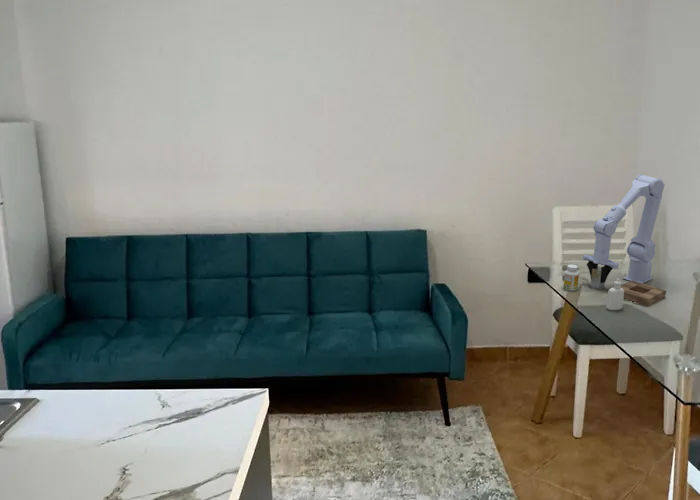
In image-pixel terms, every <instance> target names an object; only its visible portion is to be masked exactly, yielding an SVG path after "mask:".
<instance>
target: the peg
mask: <svg viewBox="0 0 700 500" xmlns="http://www.w3.org/2000/svg"><path fill="white" fill-rule="evenodd" d="M601 267H602V266H599V265H598V266H597V267H594V268H592V275H591V276H590V286H589V287H590V288H593V289H597V290H601V289H604V288H605V285H606V282H605V283H601V277H602V271H601ZM603 287H604V288H603Z"/></svg>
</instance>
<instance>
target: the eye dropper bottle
mask: <svg viewBox="0 0 700 500" xmlns="http://www.w3.org/2000/svg"><path fill="white" fill-rule="evenodd" d="M621 285H622V282H621V281H620V278H616V280H614V281H613V287H611V288H609V289H608V291H607V297H606V298H607V299H606V306H605V307H606V309H607V310H608V311H620V310H621V309H623V303H624V299H623V297H624V290H623V289H622V288H620V287H621Z"/></svg>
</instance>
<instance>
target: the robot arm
mask: <svg viewBox="0 0 700 500" xmlns="http://www.w3.org/2000/svg"><path fill="white" fill-rule="evenodd" d="M664 188H665V182H663V180H662V179H661V178H658V177H652V176H648V175H644V174H643V173H642V174H638V175H637V176H636V177H635V178H634V180H632V183H631V187H630V189H629V191H628V192H627V193H626V194H625V196H624V197H623V198H622V199H621V201H620V202H619V203H618V204H614V205H613V206H612V207H611V208H610V209H609V211H607V213H605V215H604V216H603V218H601V219H598V220H596V222H595V223H594V225H593V231H594V236H595V241H594V249H593V255H590V254H585V255H583V257H582V261H586V262H587V261H588V262H587V263H586V266H587V268H588V272H589V276H590V277H591V275H592V268H594V267H597V266H599V265H601V266H600V267H601V271H602V277H601V283H605V284H606V281H607V279H608V277H609V275H610V274H611V273H610V272H611V271H612V270H617V269H619V265H620V264H619V263H618V262H616V261H612V260H610V259H609V258H610V252H611V251H610V250H611V243H612V236H613V234H615V233H616V231H617V227H618V225H619V223H620V222H621V221H622V220H623V218H624V217H625V216H626V215H627V209H628V208H630V207H631V206H632V205H633V204H634V203H635V202H636V201H637V200H638V199H639V198H640V197H644V198H645V202H644V207H643V210H642V214H641V218H640V222H639V225H638V229H637V232H636V233H637V234H636V236H634V237H632V238H631V239H630V241H629V243H628V245H627V249H626V253H627V255H628V258H629V264H628V272H627V276H625V277H623V280H626V281H628V282H630V281H635V282H639V283H642V284H645V283H646V282H649V281H651V280H653V277H651V274H652V268H653V267H652V266H653V263H652V260H653V259H654V257H655V254H656V252H655V251H656V250H655V248H656V244H655V242H654V241H653V239H652V235H653V233H654V228H655V223H656V220H657V217H658V216H657V215H658V213H659V209H660V205H661V200H662V196H663V192H664Z"/></svg>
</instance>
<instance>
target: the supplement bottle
mask: <svg viewBox="0 0 700 500" xmlns="http://www.w3.org/2000/svg"><path fill="white" fill-rule="evenodd" d="M578 269H579V267H578V265H576V264H567V266H566V270H565V271H564V279H563V289H565V291H571V292H572V291H573V292H575V291H577V290H578V287H579V278H580V275H579V274H580V273H579V271H578Z"/></svg>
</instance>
